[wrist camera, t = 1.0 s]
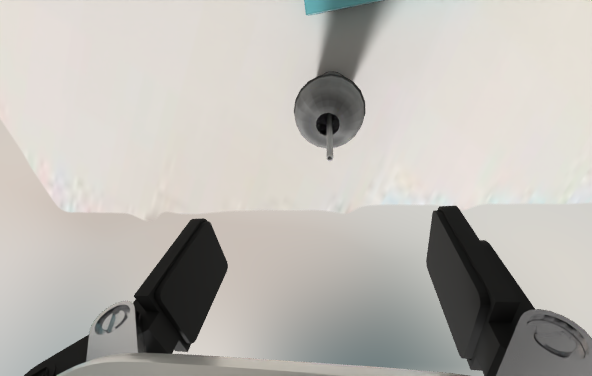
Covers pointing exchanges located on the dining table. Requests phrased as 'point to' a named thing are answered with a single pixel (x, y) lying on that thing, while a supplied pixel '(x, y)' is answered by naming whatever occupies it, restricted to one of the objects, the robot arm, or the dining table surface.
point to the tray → (332, 5)
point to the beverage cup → (329, 111)
